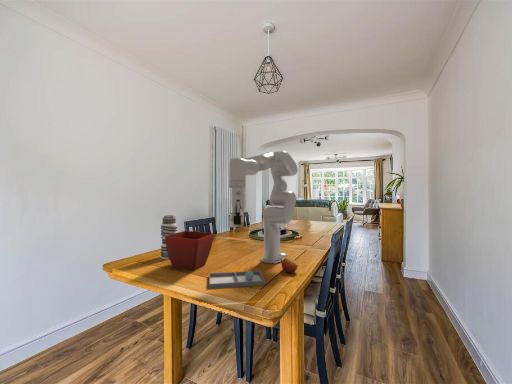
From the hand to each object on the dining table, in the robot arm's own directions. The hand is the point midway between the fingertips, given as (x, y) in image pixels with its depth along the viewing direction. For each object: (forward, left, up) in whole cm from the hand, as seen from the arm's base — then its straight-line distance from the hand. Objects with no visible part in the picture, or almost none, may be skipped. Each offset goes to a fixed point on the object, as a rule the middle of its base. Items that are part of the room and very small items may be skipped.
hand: (236, 223), depth 108 cm
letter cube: (0, 0, -1) cm, 1 cm away
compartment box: (0, +5, -25) cm, 26 cm away
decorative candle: (+36, -38, -26) cm, 58 cm away
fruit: (-28, -4, -26) cm, 38 cm away
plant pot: (+22, -20, -26) cm, 39 cm away
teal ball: (-6, +5, -25) cm, 26 cm away
